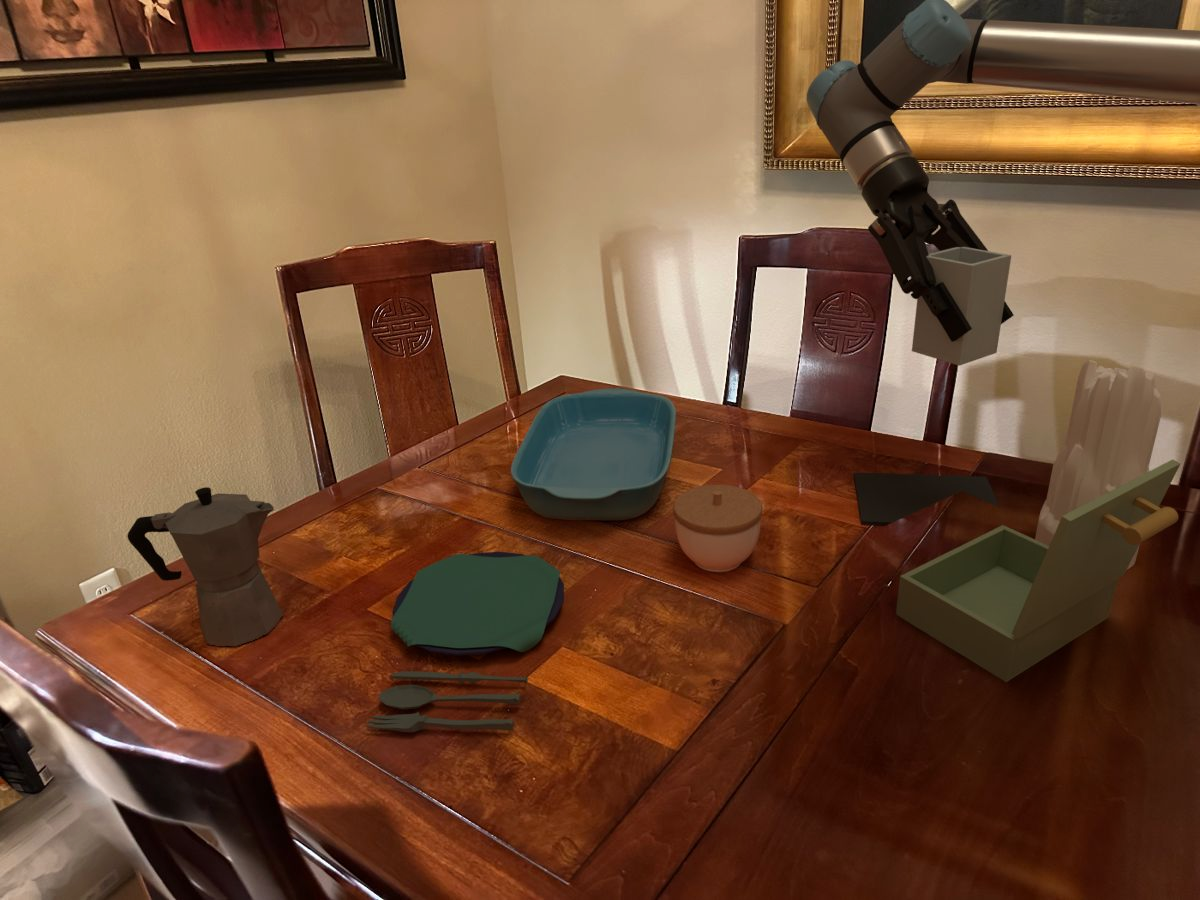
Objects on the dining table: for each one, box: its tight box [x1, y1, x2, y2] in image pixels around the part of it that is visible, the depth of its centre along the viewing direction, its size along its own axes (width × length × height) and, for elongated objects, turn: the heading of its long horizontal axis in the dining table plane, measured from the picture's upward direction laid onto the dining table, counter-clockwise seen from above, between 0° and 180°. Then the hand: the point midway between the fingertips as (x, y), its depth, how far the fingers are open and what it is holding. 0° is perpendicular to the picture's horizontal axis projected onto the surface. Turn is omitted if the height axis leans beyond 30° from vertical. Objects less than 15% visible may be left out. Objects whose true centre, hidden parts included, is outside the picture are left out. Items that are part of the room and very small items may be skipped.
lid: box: [1011, 459, 1182, 639], centre depth 78 cm, size 14×17×4 cm
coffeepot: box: [126, 486, 284, 647], centre depth 95 cm, size 15×9×18 cm, turn 102°
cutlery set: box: [365, 551, 565, 733], centre depth 93 cm, size 20×30×2 cm, turn 173°
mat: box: [853, 471, 1001, 527], centre depth 115 cm, size 18×14×1 cm
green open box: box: [895, 524, 1119, 683], centre depth 90 cm, size 13×17×6 cm
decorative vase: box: [1034, 359, 1162, 570], centre depth 96 cm, size 11×11×25 cm
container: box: [911, 247, 1012, 367], centre depth 102 cm, size 7×7×12 cm
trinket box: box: [672, 484, 763, 573], centre depth 103 cm, size 11×11×9 cm
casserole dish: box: [510, 387, 677, 522], centre depth 126 cm, size 37×22×7 cm, turn 172°
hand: (983, 328), depth 100 cm, fingers closed on container, 7 cm apart
